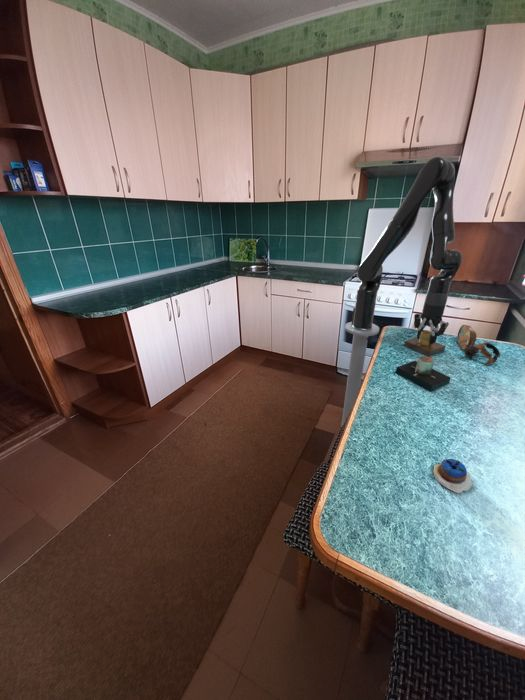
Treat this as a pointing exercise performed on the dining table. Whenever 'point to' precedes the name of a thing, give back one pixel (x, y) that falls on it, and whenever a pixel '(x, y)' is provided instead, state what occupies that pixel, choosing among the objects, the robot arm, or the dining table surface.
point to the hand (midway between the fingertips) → (425, 340)
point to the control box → (423, 377)
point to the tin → (466, 336)
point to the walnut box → (424, 347)
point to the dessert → (453, 475)
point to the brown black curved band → (483, 352)
